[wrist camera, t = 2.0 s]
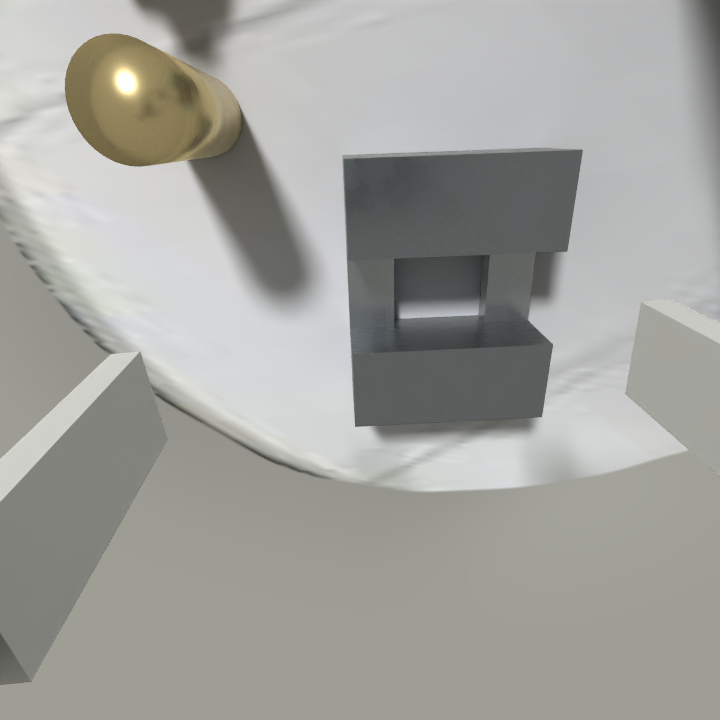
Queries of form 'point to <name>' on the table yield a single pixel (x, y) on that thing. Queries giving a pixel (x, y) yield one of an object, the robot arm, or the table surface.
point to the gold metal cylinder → (147, 104)
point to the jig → (442, 239)
